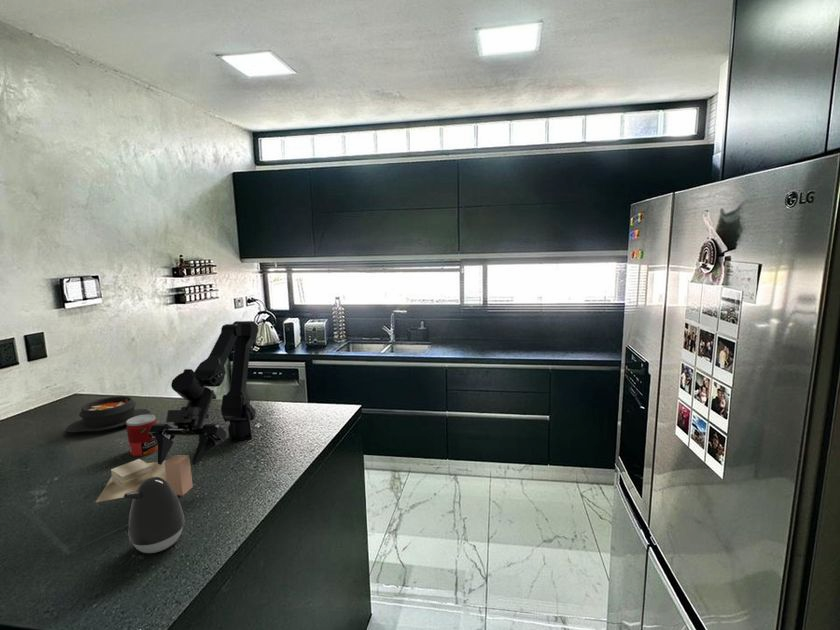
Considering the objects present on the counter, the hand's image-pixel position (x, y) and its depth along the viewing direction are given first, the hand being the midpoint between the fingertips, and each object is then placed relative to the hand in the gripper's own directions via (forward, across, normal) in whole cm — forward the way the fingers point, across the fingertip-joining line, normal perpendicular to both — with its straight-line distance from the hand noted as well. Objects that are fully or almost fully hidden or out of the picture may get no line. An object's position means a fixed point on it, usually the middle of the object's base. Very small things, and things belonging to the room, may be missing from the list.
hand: (176, 464), depth 112 cm
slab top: (0, -16, +7) cm, 18 cm away
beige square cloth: (+1, -14, +10) cm, 17 cm away
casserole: (-24, -53, +35) cm, 68 cm away
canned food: (-10, -25, +21) cm, 34 cm away
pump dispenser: (+19, +8, -8) cm, 22 cm away
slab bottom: (+2, -16, +8) cm, 19 cm away
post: (+6, 0, +6) cm, 8 cm away
